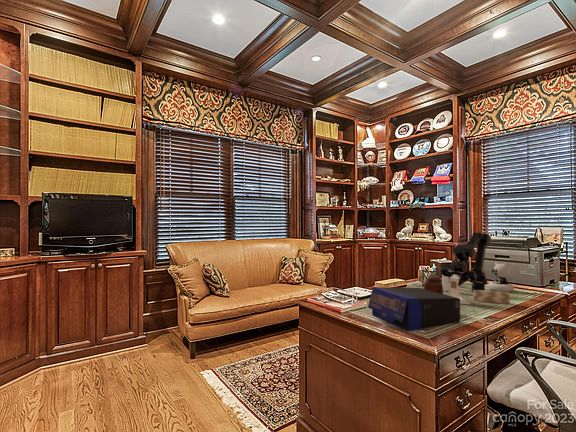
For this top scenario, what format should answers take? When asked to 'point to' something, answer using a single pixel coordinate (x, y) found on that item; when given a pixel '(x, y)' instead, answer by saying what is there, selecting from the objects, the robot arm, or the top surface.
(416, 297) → the headphone box
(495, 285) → the decorative figurine
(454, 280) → the plain beige block
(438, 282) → the wooden figurine
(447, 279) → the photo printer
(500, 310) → the top surface
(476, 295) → the birch partition
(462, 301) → the pad
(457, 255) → the robot arm
